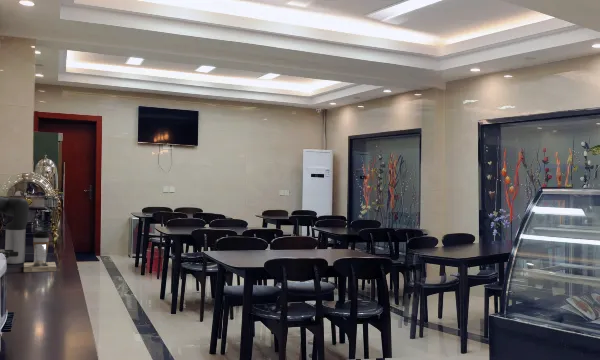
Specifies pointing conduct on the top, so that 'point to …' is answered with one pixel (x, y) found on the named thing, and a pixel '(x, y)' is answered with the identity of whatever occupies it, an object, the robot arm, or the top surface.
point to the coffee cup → (41, 238)
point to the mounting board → (39, 267)
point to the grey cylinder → (40, 255)
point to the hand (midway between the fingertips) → (15, 252)
